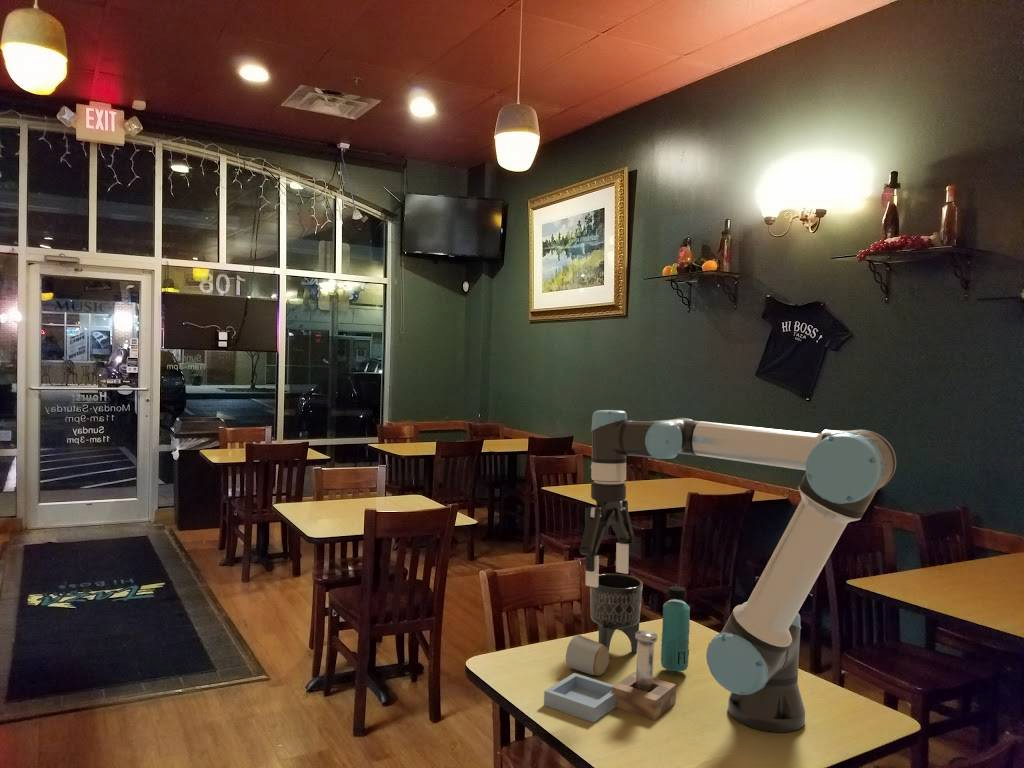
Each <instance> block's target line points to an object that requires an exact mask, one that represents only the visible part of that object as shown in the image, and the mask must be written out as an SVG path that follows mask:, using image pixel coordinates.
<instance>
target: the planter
mask: <svg viewBox="0 0 1024 768" xmlns="http://www.w3.org/2000/svg"><path fill="white" fill-rule="evenodd" d="M643 586H644V585H643V581H642V580H640V579H639V578H637V577H634V576H631V575H628V574H626V575H625V574H622V573H621V574H620V573H619V574H618V573H603V574H600V573H599V587H591V586H589V587H590V588H589V592H590V594H589V595H590V596H589V597H590V598H589V599H590V601H589V602H590V603H589V604H590V607H589V608H590V614H589V615H590V618H591V620H592V621H593V622H594V623H596V624H597V625H598V642H599V643H601V644H603V645H604V646H606V647H607V648H608V650H609V651H610V645H611V641H612V637H613V635H614V633H615V632H616V630H618V631H620V632H622V633H624V634H625V635H626V636H627V638H628V641H630V648H631V649H630V651H631V653H632V654H637V646H638V641H637V640H636V639H635V633H636V632H637V631H640V618H641V607H642V598H643V596H642V595H643Z"/></svg>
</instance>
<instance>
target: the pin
mask: <svg viewBox="0 0 1024 768" xmlns="http://www.w3.org/2000/svg"><path fill="white" fill-rule="evenodd" d="M635 639H636V640H637V641H638V644H637V653H636V689H640V690H643V691H646V692H649V693H650V692H651V691H652V690H653V678H654V667H655V666H654V665H655V658H654V657H655V643H656V642H658V633H656V632H654V631H651V630H643V629H642V630H639V631H637V632H636V633H635Z"/></svg>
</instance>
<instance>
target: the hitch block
mask: <svg viewBox="0 0 1024 768" xmlns="http://www.w3.org/2000/svg"><path fill="white" fill-rule="evenodd" d="M613 685H614V686H612V692H615V693H616V704H615V708H618V709H620V710H624V711H625V712H629V713H633V714H635V715H639V716H641V717H644V718H647V719H650V720H653V721H656V720H657V719H658V718H659V717H661V716H662V715H663V714H664V713H665V712H667V710H670V708H672V707H673V706H674V705H675V704H676V696H677V695H676V694H677V684H676V683H673V682H668V681H665V680H662V679H659V678H655V677H653V690H652V691H651V692H650V693H649V692H646V691H643V690H640V689H636V672H635V671H633V672H632V673H630V674H628V675H627V676H625V677H624V678H622V679H621V680H620V681H618V682H617V683H615V684H613Z"/></svg>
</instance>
